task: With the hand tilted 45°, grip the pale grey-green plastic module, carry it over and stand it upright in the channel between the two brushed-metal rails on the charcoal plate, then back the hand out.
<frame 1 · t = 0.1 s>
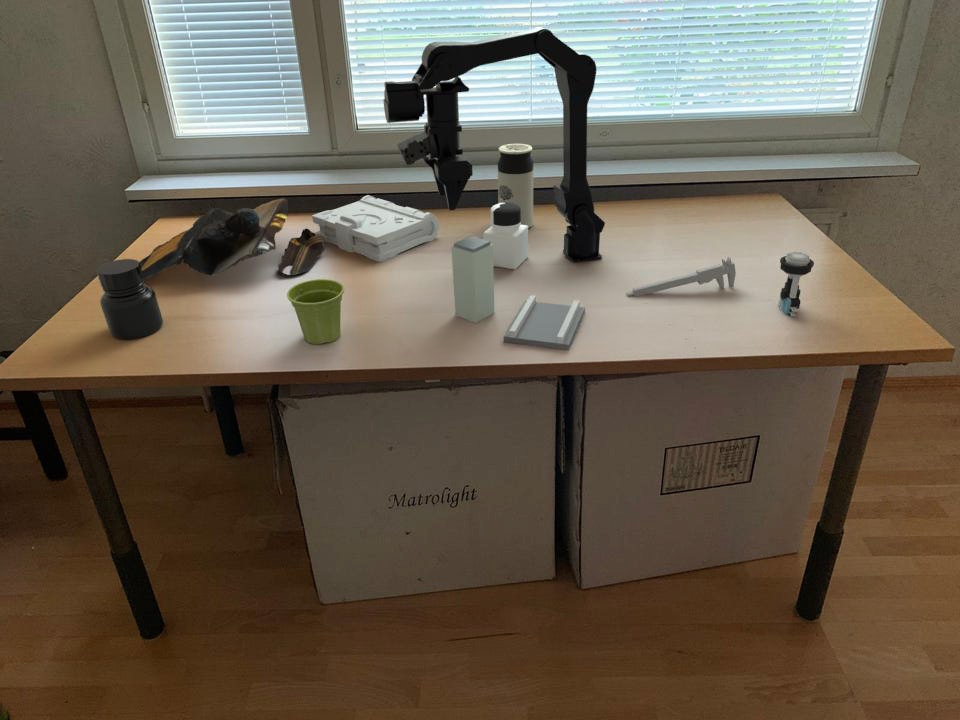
hand: (447, 202, 137), 15 cm above the table, tool pointing down, fingers open, 9 cm apart
rail plate: (545, 326, 123), on the table
module: (475, 313, 128), on the table
toolset: (232, 261, 155), on the table
caliper: (679, 293, 134), on the table
ink bottle: (137, 329, 127), on the table
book: (370, 239, 164), on the table
plant pot: (323, 337, 123), on the table
push button: (787, 311, 125), on the table
travel mug: (515, 226, 167), on the table
medicine bottle: (506, 262, 149), on the table
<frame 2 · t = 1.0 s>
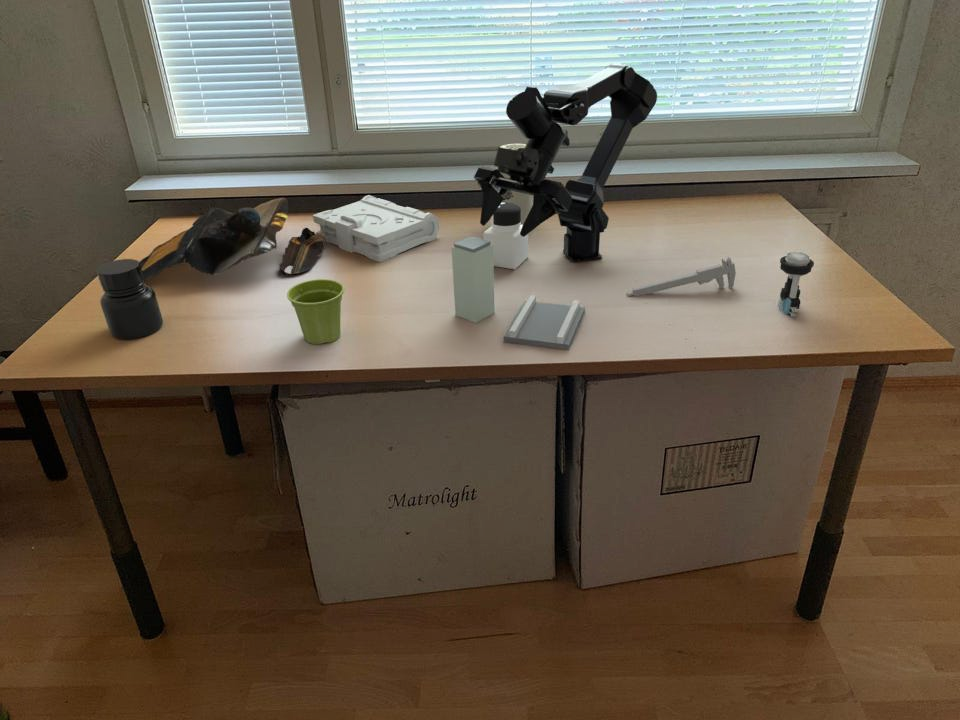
hand: (501, 230, 126), 13 cm above the table, tool tilted 45°, fingers open, 9 cm apart
nothing on the table moved.
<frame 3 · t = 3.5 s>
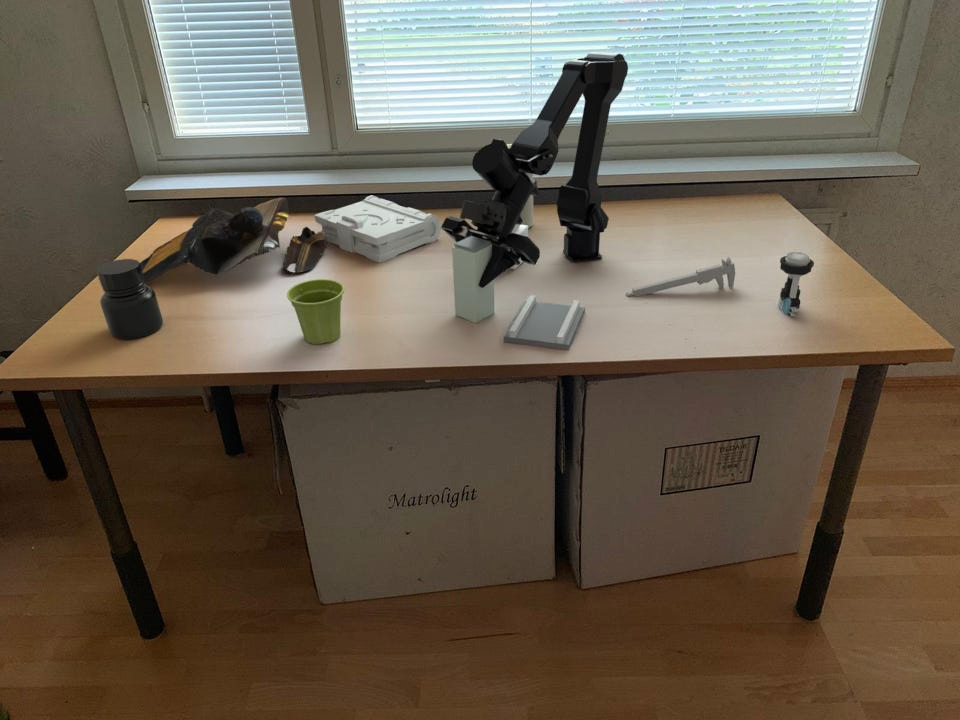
hand: (468, 282, 124), 7 cm above the table, tool tilted 45°, fingers closed on module, 5 cm apart
module: (475, 313, 128), on the table, touching gripper
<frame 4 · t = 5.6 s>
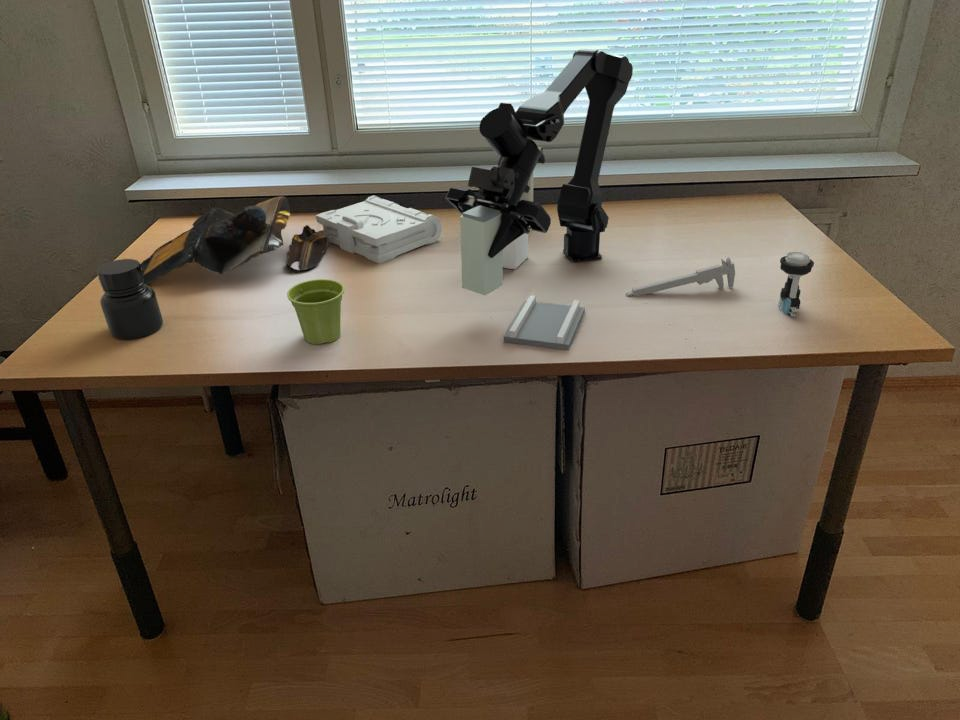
hand: (477, 253, 120), 12 cm above the table, tool tilted 45°, fingers closed on module, 5 cm apart
module: (482, 286, 124), point 6 cm above the table, touching gripper
when the fingers open (9 cm above the table, at t = 7.8 s): module drops 1 cm, resting on rail plate.
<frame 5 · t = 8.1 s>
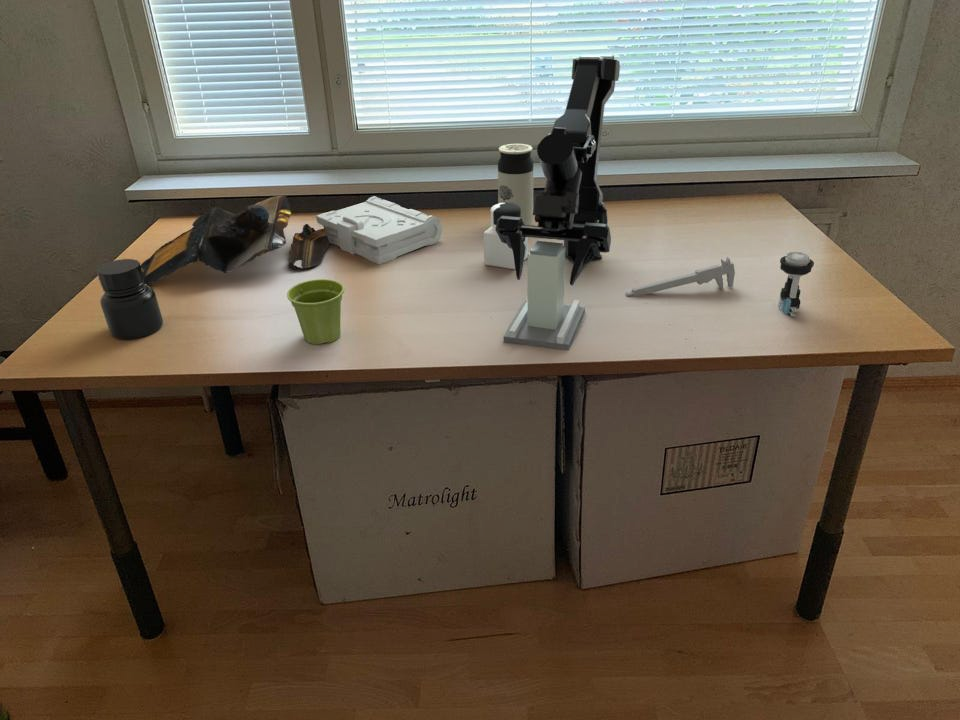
hand: (544, 281, 117), 9 cm above the table, tool tilted 45°, fingers open, 9 cm apart
module: (545, 321, 122), point 1 cm above the table, touching rail plate
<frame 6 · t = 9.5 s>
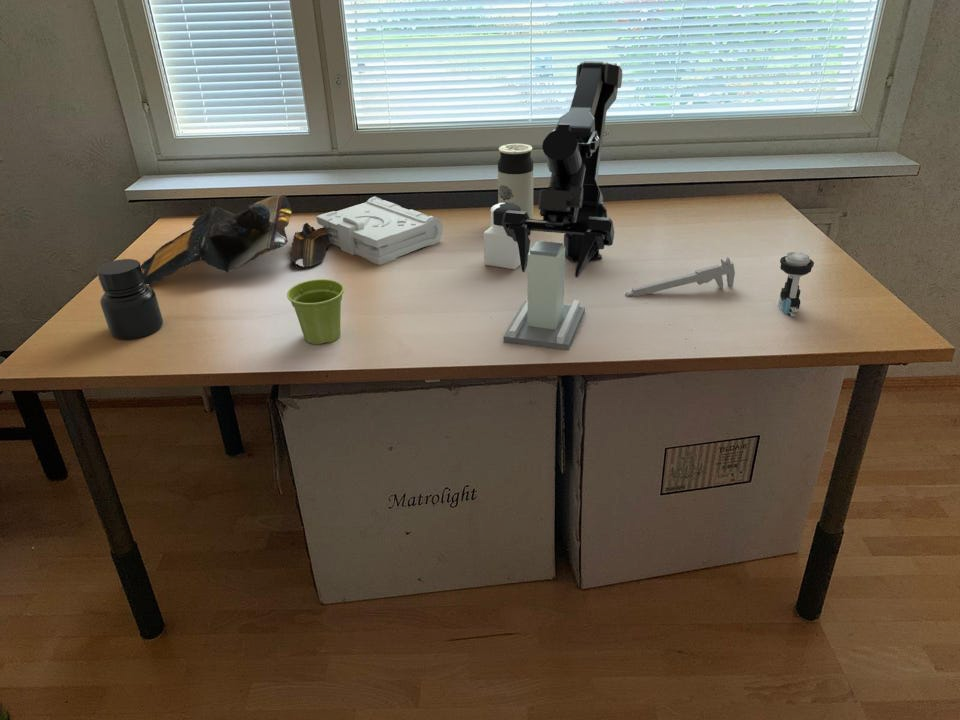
hand: (549, 274, 120), 9 cm above the table, tool tilted 45°, fingers open, 9 cm apart
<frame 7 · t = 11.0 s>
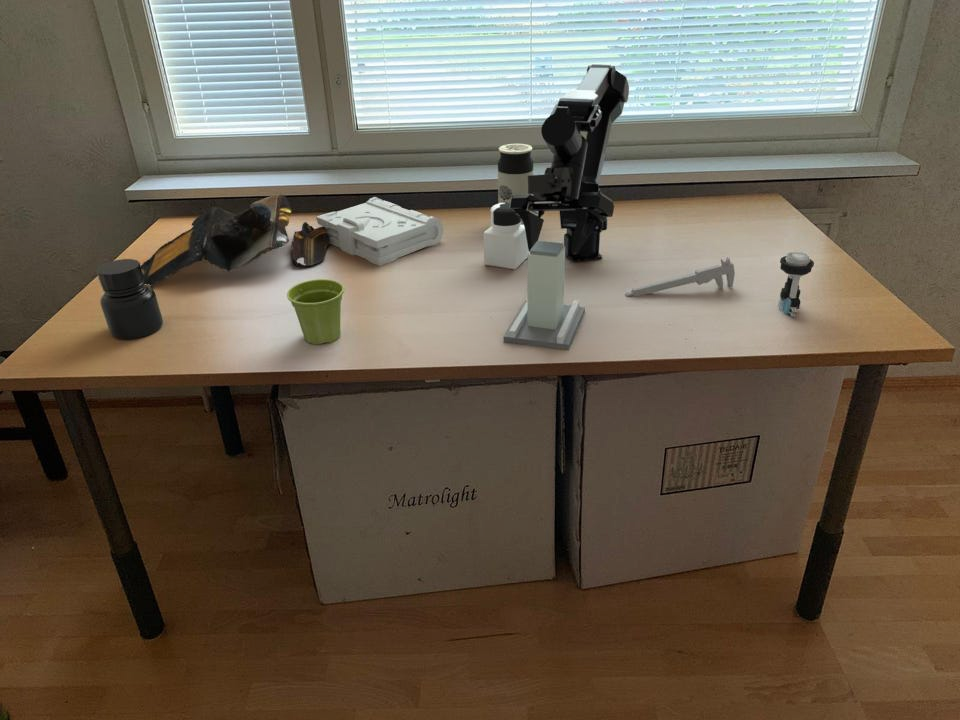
hand: (552, 252, 126), 10 cm above the table, tool tilted 35°, fingers open, 9 cm apart
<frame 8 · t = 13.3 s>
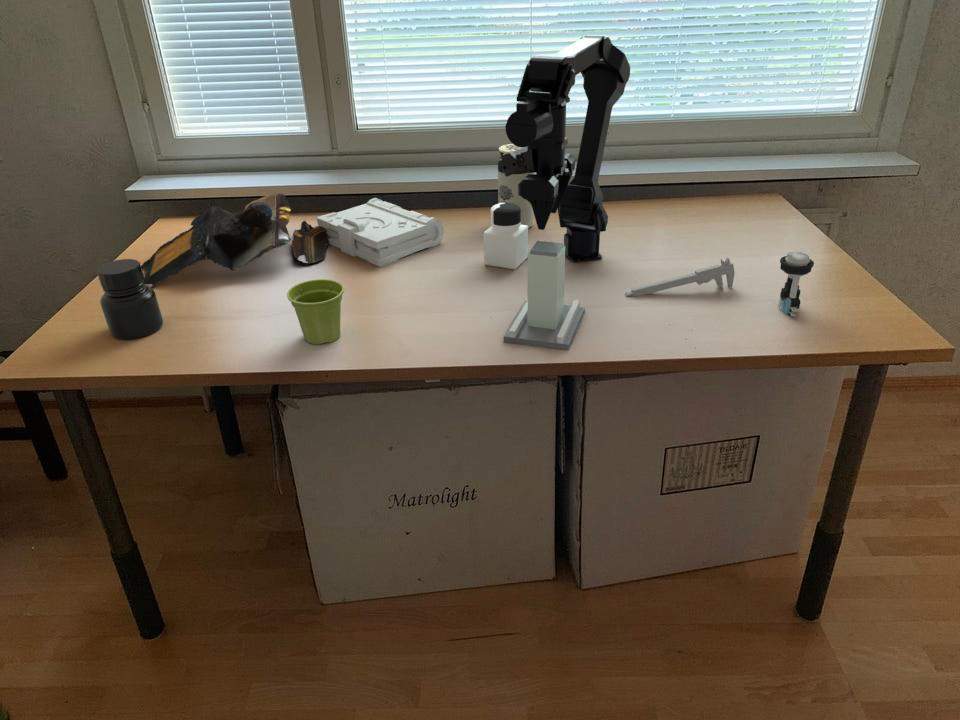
hand: (547, 220, 131), 13 cm above the table, tool pointing down, fingers open, 9 cm apart
at the end: module 0.1 cm off-centre on the rail plate, point 1.0 cm above the rail plate's base; module tilted 0°; the gripper is holding nothing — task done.
